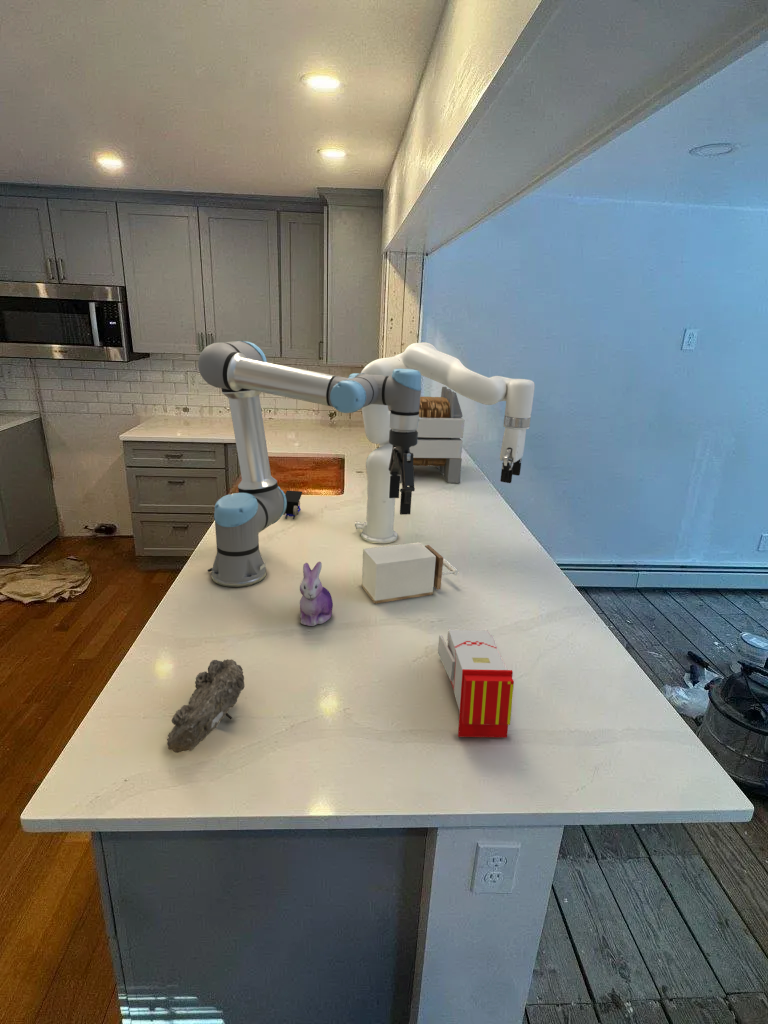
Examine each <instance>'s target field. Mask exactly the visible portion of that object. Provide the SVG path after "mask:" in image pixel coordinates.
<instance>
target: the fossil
mask: <svg viewBox="0 0 768 1024" xmlns="http://www.w3.org/2000/svg"><path fill="white" fill-rule="evenodd" d="M243 670H244V669H243V667H242V665H240V664H237V662H236V661H235V660H234V659H232V658H231V659H227V658H226V659H224V660H223V661H222V660H217V659H212V660H211V661H210V663H209V665H208V666H207V671H201V672H199V673H198V674H197V675H196V676H195V680H194V684H195V685H194V687H195V689H194V690H193V693H192V694H191V697H190V698H189V700H188V704H184V705H182V706H181V707H180V709H177V710H176V711H175V713H174V715H173V716H172V718H171V723H172V724H173V727H172V730H171V731H170V732H168V734H167V738H166V741H167V742H166V745H167V749H168V750H169V751H173V752H174V753H176V754H178V753H182V752H188V751H189V752H192V751H193V750H195V748H196V747H197V746H199V744H200V743H201V742H203V741H204V740H205V739H206V738H207V737H208V736H209V735H210V734H211V733H212V732H214V730H215V729H217V727H218V726H219V724H220V722H221V721H222V720H223V719H224V718H225V716H226V717H227V719H229V720H233V717H232V715H230V714H229V710H230V709H231V708H234V706H235V704H236V703H237V702H238V699H239V697H240V695H241V693H242V691H243V690H245V689H244V688H245V675H244V671H243Z"/></svg>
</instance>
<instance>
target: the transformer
mask: <svg viewBox="0 0 768 1024" xmlns="http://www.w3.org/2000/svg"><path fill="white" fill-rule="evenodd" d="M440 393H441V394H440V396H420V406H419V417H420V418H421V419H420V421H418V429H417V430H416V431H417V432H418V439H417V444H416V445H415V446H411V447H410V452H411V453H413V455H414V456H413V467H415V466H416V467H417V466H418V467H436V468H437V470H438V469H439V473H440V474H441V475H443V478H444V479H445V481H446V482H447V483H449V484H455V483H456V484H459V483H461V472H462V461H463V460H462V453H463V442H464V441H463V440H462V439H463V438H464V431H465V430H464V429H465V419H464V418H463V411H462V408H461V405H460V402H459V398H458V395H457V392H455V391H454V390H452V389H450V388H448V387H447V386H442V387H441V392H440ZM388 410H389V411H391V406H390V405H388ZM397 476H400V483H402V481H401V475H397Z"/></svg>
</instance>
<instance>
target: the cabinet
mask: <svg viewBox="0 0 768 1024" xmlns="http://www.w3.org/2000/svg"><path fill="white" fill-rule="evenodd" d="M435 562H436V556H435V555H434V554H433V553H431V552H430V551H429V550H428V549H427V548H426V547H425V545H423V543H421V542H420V541H418V542H408V543H401V544H393V545H384V546H378V547H377V546H375V547H367V548H362V569H361V570H362V571H361V588H362V589H363V590H364V592H365V593H366V594H367V595H368V597H369V598H370V600H371V601H372V602H373V603H374V604H383V603H388V602H389V603H390V602H394V601H401V600H407V599H414V598H420V597H426V596H433V595H434V574H435Z"/></svg>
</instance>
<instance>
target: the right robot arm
mask: <svg viewBox="0 0 768 1024" xmlns="http://www.w3.org/2000/svg"><path fill="white" fill-rule="evenodd" d="M394 369H414V370H418V371H419V372H420V373H421V377H422V376H423V377H425V378H426V379H430V380H432V381H434V382H437V383H439V384H442V385H443V386H445V387H447V388H448V389H450V390H451V391H454V392H455V393H456V394H459V395H460V396H462V397H465V398H467V399H469V400H471V401H474V402H477V403H479V404H482V405H485V406H492V405H493V406H494V405H495V404H497V403H500V402H505V408H504V409H505V410H504V418H503V428H504V431H503V436H502V441H501V442H502V443H501V448H500V453H499V460H500V461H502V465H501V471H500V480H499V481H500V482H501V483H507V484H512V479H513V476H517V477H518V476H519V477H520V475H521V468H522V460H523V459H522V458H523V456H524V453H525V445H526V436H527V430H529V429H530V426H531V419H532V411H533V404H534V396H535V388H536V385H535V382H534V381H533V380H531V379H527V378H510V377H506V376H502V375H492V376H486V375H483V374H481V373H478V372H475V371H474V370H471V369H469V368H468V367H466V366H465V365H463V363H462V362H461V360H460V359H459V358H457V357H456V356H453V355H450V354H448V353H445V352H443V351H440V350H437V348H436V346H434V345H433V344H432V343H429V342H425V341H423V342H414V343H411V344H409V345H408V346H407V347H405V350H404V351H403V352H400V353H398V354H396V355H393V356H390V357H382V358H377V359H375V360H372V361H371V362H369V363H367V364H366V365H365V366H364V367H363V369H362V370H361V372H360V373H365V374H370V375H380V376H392V373H393V370H394ZM390 412H391V411H389V410H388V405H378V404H370V405H368V406H366V407H363V408H361V413H362V419H363V426H364V427H363V428H364V433H365V436H366V439H367V440H368V441H369V442H370V443H372V444H375V445H377V444H378V445H379V446H378V447H377V448H375V449H373V450H372V451H371V452H369V454H368V456H367V457H366V459H365V460H366V461H365V471H366V480H367V483H366V519H365V520H366V521H364V522H362V521H355V522H354V527H355V529H356V530H361V534H360V535H361V538H362V539H363V540H364V541H366V542H368V543H373V544H389V543H393V542H395V541H397V540H398V537H399V534H398V532H397V531H396V530H395V528H394V527H395V510H396V509H395V508H396V507H395V506H396V498H389V491H390V476H392V475H390V471H389V464H390V459H391V454H392V447H393V445H391V444H390V443H389V431H390V430H391V428H390Z"/></svg>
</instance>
